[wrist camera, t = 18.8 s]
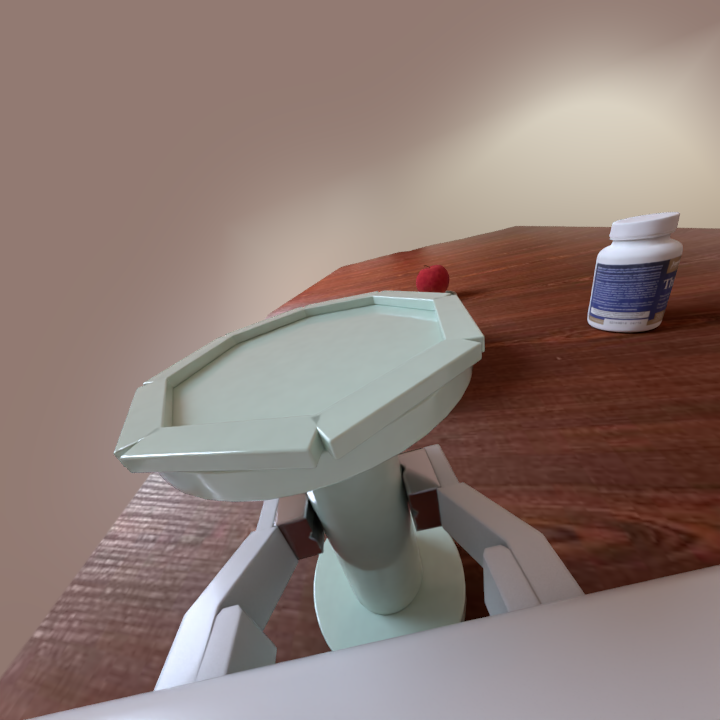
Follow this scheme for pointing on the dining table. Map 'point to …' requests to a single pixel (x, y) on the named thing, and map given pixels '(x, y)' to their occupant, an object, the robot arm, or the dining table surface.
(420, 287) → the apple
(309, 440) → the pedestal stand
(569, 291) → the dining table surface
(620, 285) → the pill bottle
